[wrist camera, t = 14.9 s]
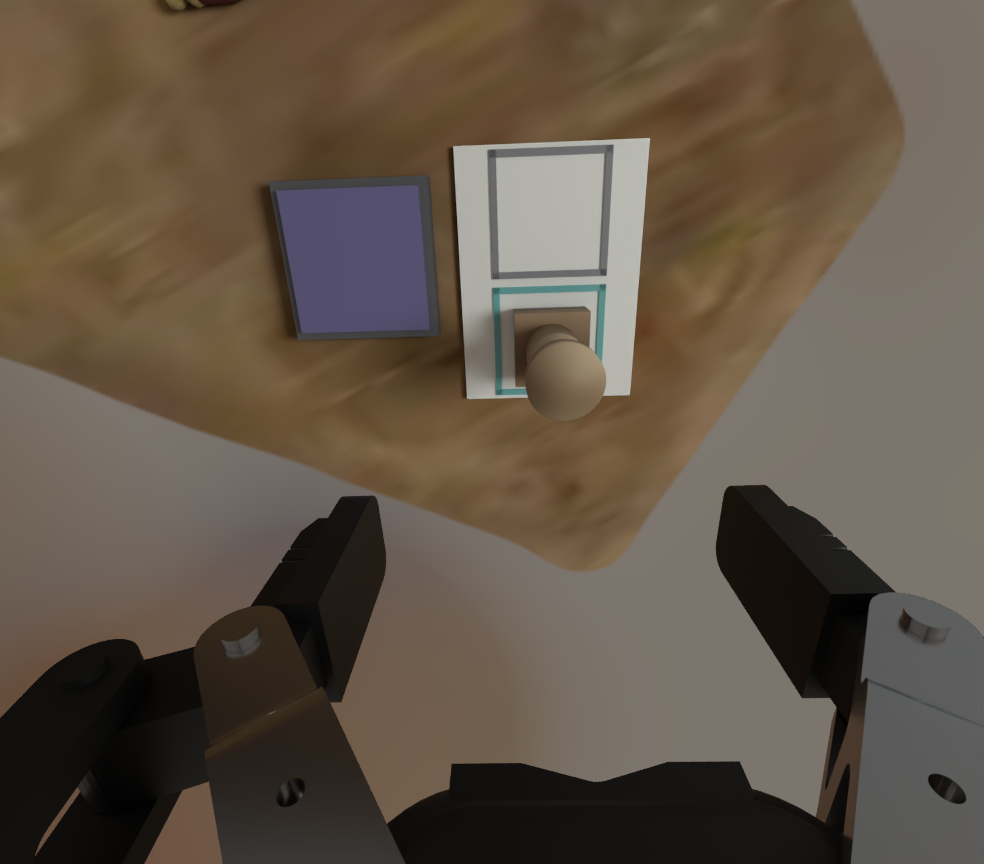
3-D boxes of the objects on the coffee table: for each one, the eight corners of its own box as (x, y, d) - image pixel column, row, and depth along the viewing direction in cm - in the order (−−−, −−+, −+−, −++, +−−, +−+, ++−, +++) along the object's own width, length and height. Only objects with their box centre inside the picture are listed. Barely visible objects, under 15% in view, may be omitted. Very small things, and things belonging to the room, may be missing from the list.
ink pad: (277, 183, 28) (265, 181, 27) (429, 177, 28) (425, 174, 27) (305, 336, 32) (295, 341, 30) (440, 332, 32) (437, 337, 30)
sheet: (453, 147, 28) (452, 146, 27) (648, 139, 27) (650, 137, 27) (467, 397, 33) (467, 399, 33) (628, 393, 33) (630, 395, 32)
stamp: (513, 308, 31) (517, 337, 22) (585, 306, 30) (616, 334, 22) (515, 377, 32) (518, 428, 24) (582, 375, 32) (610, 426, 24)
